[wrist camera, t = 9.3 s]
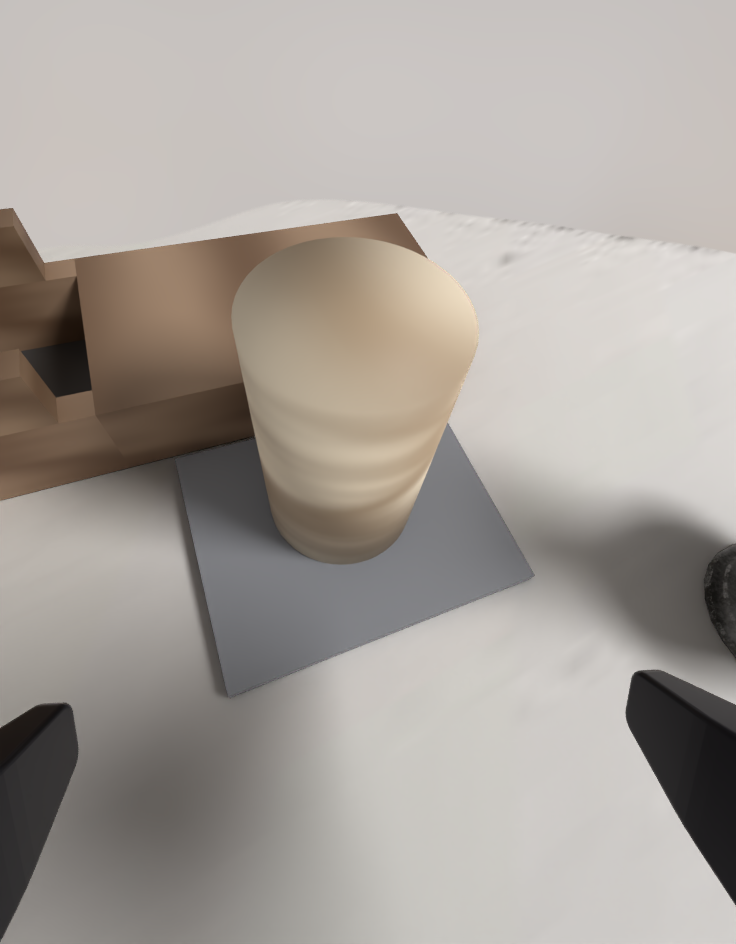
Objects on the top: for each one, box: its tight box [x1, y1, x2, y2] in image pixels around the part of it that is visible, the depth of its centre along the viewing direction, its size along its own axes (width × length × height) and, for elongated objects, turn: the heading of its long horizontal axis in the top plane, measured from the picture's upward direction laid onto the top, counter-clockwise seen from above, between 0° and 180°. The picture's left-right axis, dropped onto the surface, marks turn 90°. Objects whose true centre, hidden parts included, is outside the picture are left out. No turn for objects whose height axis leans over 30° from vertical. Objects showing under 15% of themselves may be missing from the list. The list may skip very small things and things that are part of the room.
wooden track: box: [0, 208, 428, 500], centre depth 16 cm, size 28×8×5 cm, turn 111°
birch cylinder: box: [231, 237, 479, 565], centre depth 13 cm, size 5×5×8 cm
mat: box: [175, 422, 534, 698], centre depth 16 cm, size 10×8×1 cm
